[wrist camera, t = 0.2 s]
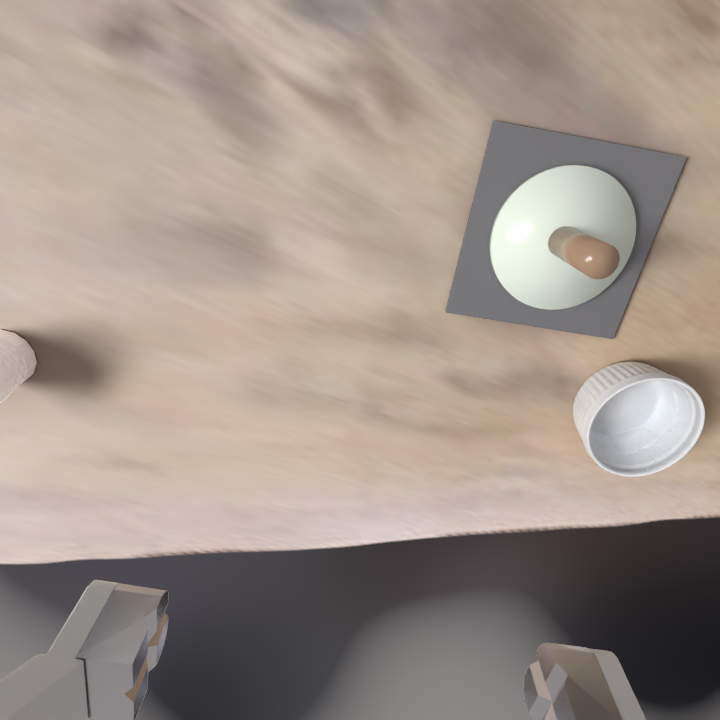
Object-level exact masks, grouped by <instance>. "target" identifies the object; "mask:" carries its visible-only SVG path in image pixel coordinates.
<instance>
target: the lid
mask: <svg viewBox="0 0 720 720" xmlns="http://www.w3.org/2000/svg"><path fill="white" fill-rule="evenodd" d="M635 236H636V215H635V211H634V207H633V204H632V201H631V199H630V197H629V195H628V193H627V192H626V190H625V189H624V188H623V186H622V185H621V184H620V183H619V182H618V181H617V180H616V179H615V178H614V177H612V176H610V175H609V174H607V173H606V172H603V171H601V170H599V169H596V168H592V167H588V166H581V165H562V166H556V167H552V168H549V169H545V170H543V171H541V172H538V173H536V174H534V175H533V176H531V177H529V178H528V179H526V180H525V181H524V182H522V183H521V184H520V185H519V186H517V187H516V188H515V189H514V190H513V191H512V192H511V193H510V195H509V196H508V197H507V198H506V200H505V201H504V202H503V204H502V206H501V207H500V209H499V211H498V213H497V215H496V217H495V219H494V222H493V225H492V228H491V233H490V239H489V255H490V261H491V265H492V268H493V271H494V273H495V275H496V277H497V279H498V280H499V282H500V283H501V285H502V286H503V287H504V288H505V289H506V290H507V291H508V292H509V293H510V294H511V295H512V296H513V297H515V298H516V299H517V300H519V301H521V302H522V303H524V304H526V305H529V306H532V307H535V308H539V309H547V310H557V309H565V308H570V307H573V306H577V305H579V304H582V303H584V302H586V301H588V300H590V299H592V298H594V297H595V296H597V295H598V294H600V293H601V292H602V291H603V290H605V289H606V288H607V287H608V286H609V285H610V284H611V283H612V282H613V281H614V280H615V279H616V278H617V276H618V275H619V274H620V272H621V271H622V270H623V268H624V266H625V265H626V263H627V261H628V259H629V257H630V254H631V252H632V248H633V245H634V241H635Z"/></svg>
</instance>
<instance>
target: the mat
mask: <svg viewBox="0 0 720 720" xmlns="http://www.w3.org/2000/svg"><path fill="white" fill-rule="evenodd" d="M686 158H687V157H683V156H678V155H673V154H667V153H662V152H657V151H652V150H646V149H641V148H636V147H631V146H625V145H620V144H615V143H610V142H604V141H599V140H594V139H589V138H583V137H578V136H573V135H568V134H562V133H557V132H552V131H547V130H542V129H536V128H531V127H526V126H521V125H515V124H510V123H505V122H500V121H493V124H492V128H491V132H490V136H489V140H488V144H487V148H486V152H485V156H484V160H483V164H482V168H481V171H480V175H479V179H478V183H477V187H476V191H475V195H474V199H473V203H472V207H471V211H470V215H469V219H468V223H467V227H466V231H465V235H464V239H463V243H462V247H461V251H460V255H459V259H458V263H457V267H456V271H455V275H454V279H453V283H452V287H451V291H450V295H449V299H448V303H447V307H446V312H447V313H453V314H459V315H466V316H472V317H478V318H484V319H491V320H497V321H503V322H509V323H516V324H522V325H528V326H534V327H541V328H547V329H553V330H559V331H566V332H572V333H578V334H585V335H591V336H597V337H603V338H610V339H613V338H614V335H615V333H616V331H617V328H618V326H619V323H620V321H621V318H622V316H623V313H624V311H625V308H626V306H627V303H628V301H629V298H630V296H631V294H632V291H633V289H634V286H635V284H636V281H637V279H638V276H639V274H640V271H641V269H642V266H643V264H644V261H645V259H646V256H647V254H648V252H649V249H650V247H651V244H652V242H653V239H654V237H655V234H656V232H657V229H658V227H659V224H660V222H661V219H662V217H663V215H664V212H665V210H666V207H667V205H668V202H669V200H670V197H671V195H672V192H673V190H674V187H675V185H676V182H677V180H678V178H679V175H680V173H681V170H682V168H683V165H684V163H685V160H686ZM562 165H581V166H588V167H592V168H596V169H599V170H601V171H603V172H606V173H607V174H609V175H610V176H612V177H614V178H615V179H616V180H617V181H618V182H619V183H620V184H621V185H622V186H623V188H624V189H625V190H626V192H627V193H628V195H629V197H630V199H631V201H632V204H633V207H634V211H635V215H636V236H635V241H634V245H633V248H632V252H631V254H630V257H629V259H628V261H627V263H626V265H625V266H624V268H623V270H622V271H621V272H620V274H619V275H618V276H617V278H616V279H615V280H614V281H613V282H612V283H611V284H610V285H609V286H608V287H607V288H606V289H605V290H603V291H602V292H601V293H600V294H598V295H597V296H595V297H594V298H592V299H590V300H588V301H586V302H584V303H582V304H579V305H577V306H573V307H570V308H565V309H557V310H547V309H539V308H535V307H532V306H529V305H526V304H524V303H522V302H521V301H519V300H517V299H516V298H515V297H513V296H512V295H511V294H510V293H509V292H508V291H507V290H506V289H505V288H504V287H503V286H502V285H501V283H500V282H499V280H498V279H497V277H496V275H495V273H494V271H493V268H492V265H491V261H490V255H489V239H490V233H491V228H492V225H493V222H494V219H495V217H496V215H497V213H498V211H499V209H500V207H501V206H502V204H503V202H504V201H505V200H506V198H507V197H508V196H509V195H510V193H511V192H512V191H513V190H514V189H515V188H516V187H517V186H519V185H520V184H521V183H522V182H524V181H525V180H526V179H528V178H529V177H531V176H533V175H534V174H536V173H538V172H541V171H543V170H545V169H549V168H552V167H556V166H562Z"/></svg>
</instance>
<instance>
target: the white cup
mask: <svg viewBox="0 0 720 720" xmlns="http://www.w3.org/2000/svg"><path fill="white" fill-rule="evenodd" d="M36 364H37V361H36V357H35V352H34V350H33V349H32V348H31V346H30V345H29V344H28V342H27V341H26V340H24V339H23V338H21V337H20V336H18V335H17V334H15V333H13V332H9V331H5V330H1V329H0V404H1V403H2V402H3V401H5V400H6V399H7V398H8V397H9V396H10V395H11V394H12V393H14V392H15V391H16V390H17V389H18V388H19V386H20V385H21V384H22V383H23V382H24V381H25V380H26V379H28V378H29V377H30V376H31V375H32V374H33V373H34V371H35V368H36Z"/></svg>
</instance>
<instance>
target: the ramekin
mask: <svg viewBox="0 0 720 720" xmlns="http://www.w3.org/2000/svg"><path fill="white" fill-rule="evenodd" d="M573 417H574V420H575V425H576V427H577V429H578V432H579V434H580V436H581V438H582V439H583V442H584V446H585V448H586V450H587V452H588V454H589V455H590V456H591V458H592V459H593V460H594V461H595V462H596V463H597V464H598V465H599V466H600V467H601V468H603V469H604V470H606V471H608V472H610V473H613V474H616V475H619V476H626V477H638V476H645V475H650V474H653V473H657V472H659V471H661V470H664V469H666V468H668V467H670V466H671V465H673V464H674V463H676V462H677V461H679V460H680V459H681V458H682V457H684V456H685V455H686V454H687V453H688V452H689V451H690V450H691V448H692V447H693V446H694V445H695V443H696V442H697V440H698V438H699V437H700V435H701V432H702V430H703V426H704V422H705V408H704V404H703V401H702V399H701V397H700V396H699V394H698V393H697V392H696V391H695V390H694V389H693V388H692V387H691V386H690V385H688V384H687V383H686V382H685V381H683V380H681V379H679V378H677V377H675V376H672V375H669V374H667V373H665V372H663V371H661V370H659V369H657V368H655V367H653V366H650V365H648V364H643V363H640V362H620V363H616V364H612V365H609V366H607V367H605V368H603V369H601V370H599V371H598V372H596V373H595V374H593V375H592V376H591V377H590V378H589V379H587V380H586V382H585V383H584V384H583V385H582V387H581V388H580V390H579V391H578V393H577V395H576V398H575V401H574V405H573Z"/></svg>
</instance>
